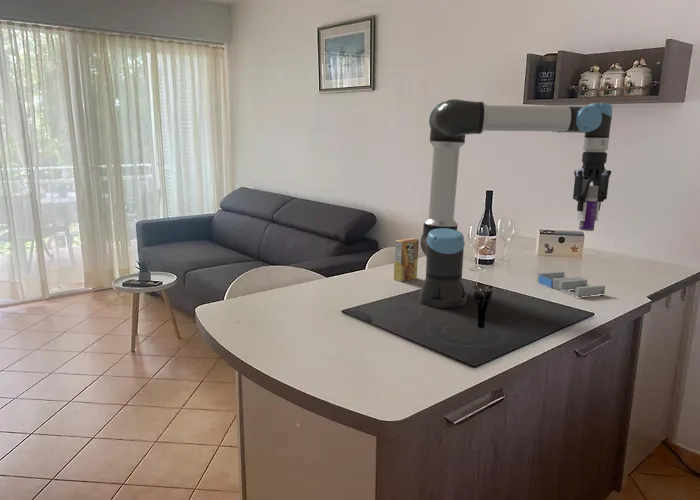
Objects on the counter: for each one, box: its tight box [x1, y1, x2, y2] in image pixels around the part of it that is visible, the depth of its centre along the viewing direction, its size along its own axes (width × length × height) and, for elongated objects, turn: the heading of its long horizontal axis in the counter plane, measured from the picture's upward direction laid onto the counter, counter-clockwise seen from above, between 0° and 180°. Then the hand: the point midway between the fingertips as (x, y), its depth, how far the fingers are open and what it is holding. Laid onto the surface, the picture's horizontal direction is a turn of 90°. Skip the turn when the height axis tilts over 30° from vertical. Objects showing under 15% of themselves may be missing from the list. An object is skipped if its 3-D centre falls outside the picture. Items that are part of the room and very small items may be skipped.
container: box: [578, 185, 598, 232], centre depth 182 cm, size 5×5×15 cm
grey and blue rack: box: [536, 270, 606, 297], centre depth 193 cm, size 12×22×4 cm, turn 18°
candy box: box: [393, 237, 420, 282], centre depth 202 cm, size 9×4×15 cm, turn 129°
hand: (587, 220), depth 183 cm, fingers closed on container, 5 cm apart
